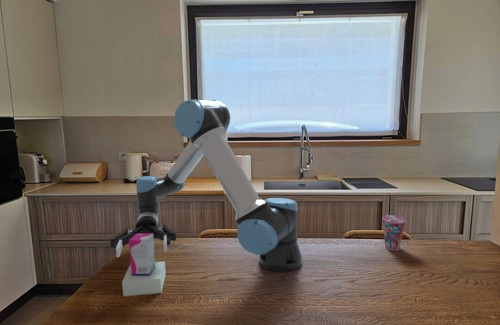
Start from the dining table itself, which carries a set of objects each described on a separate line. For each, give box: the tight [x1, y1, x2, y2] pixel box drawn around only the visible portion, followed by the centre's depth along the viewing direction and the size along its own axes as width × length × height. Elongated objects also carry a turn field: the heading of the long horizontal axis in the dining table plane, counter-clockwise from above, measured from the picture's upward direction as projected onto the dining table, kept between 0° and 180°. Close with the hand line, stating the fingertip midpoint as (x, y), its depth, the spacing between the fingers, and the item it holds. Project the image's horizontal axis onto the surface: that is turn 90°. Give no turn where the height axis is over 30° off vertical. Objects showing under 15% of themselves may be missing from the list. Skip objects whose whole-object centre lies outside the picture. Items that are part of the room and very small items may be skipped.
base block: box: [121, 261, 167, 297], centre depth 100 cm, size 11×11×5 cm
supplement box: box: [128, 233, 156, 275], centre depth 99 cm, size 6×6×12 cm
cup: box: [382, 214, 407, 252], centre depth 122 cm, size 9×8×12 cm
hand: (141, 250), depth 95 cm, fingers open, 13 cm apart
